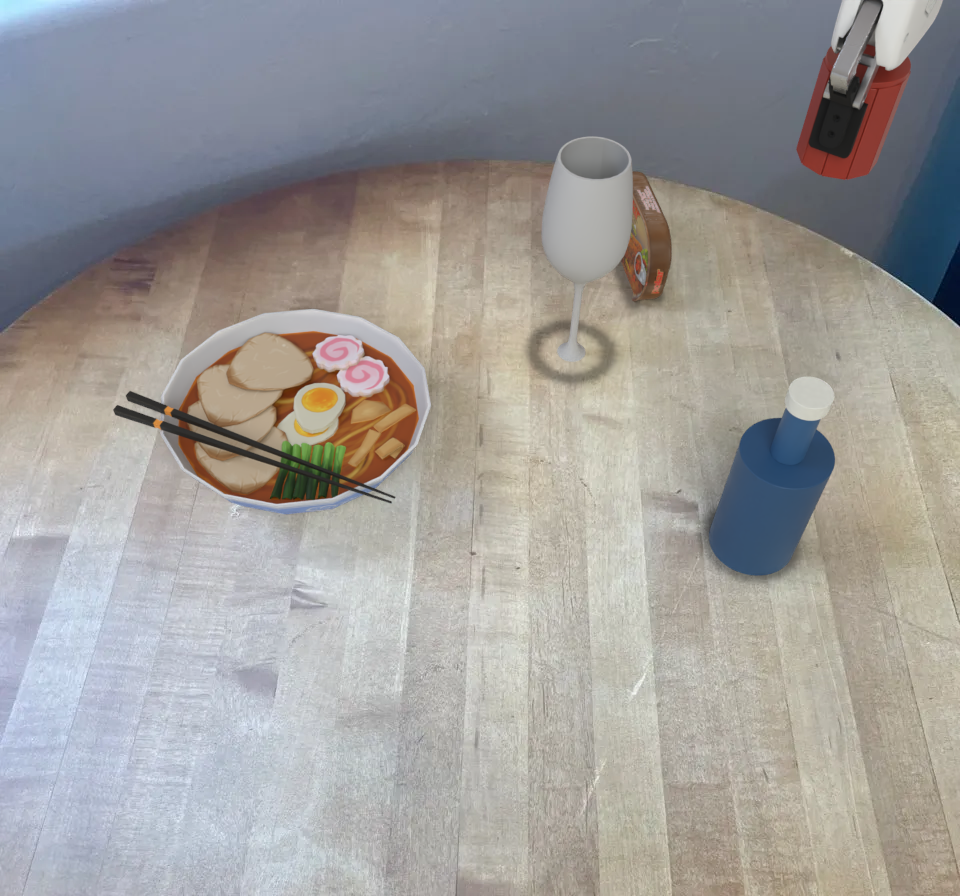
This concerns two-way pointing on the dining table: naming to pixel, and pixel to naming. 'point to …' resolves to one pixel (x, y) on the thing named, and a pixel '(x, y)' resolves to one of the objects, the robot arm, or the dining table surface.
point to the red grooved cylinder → (872, 128)
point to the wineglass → (587, 218)
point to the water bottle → (775, 483)
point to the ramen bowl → (292, 410)
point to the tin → (647, 243)
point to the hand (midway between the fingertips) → (847, 125)
